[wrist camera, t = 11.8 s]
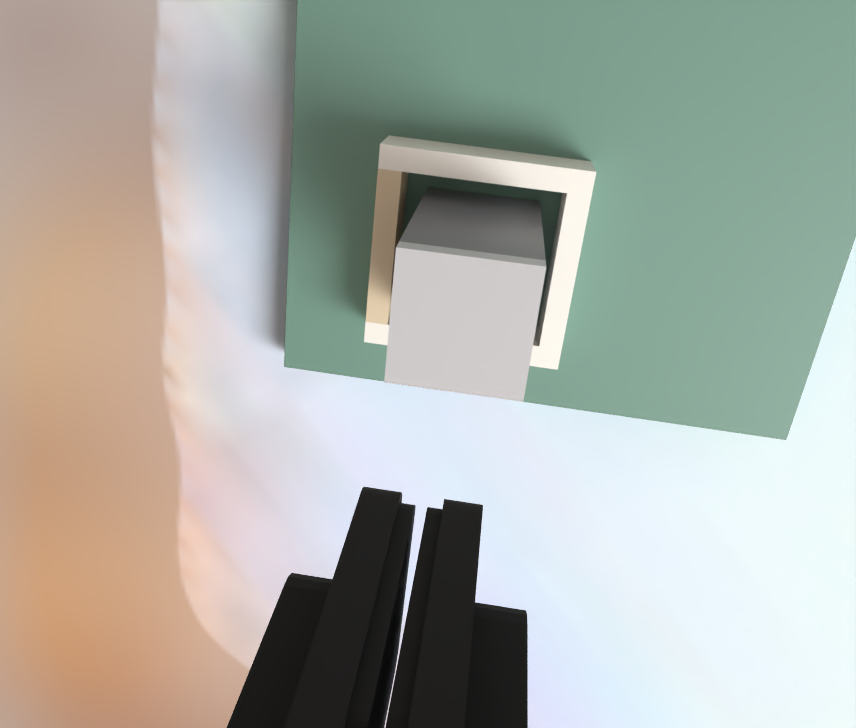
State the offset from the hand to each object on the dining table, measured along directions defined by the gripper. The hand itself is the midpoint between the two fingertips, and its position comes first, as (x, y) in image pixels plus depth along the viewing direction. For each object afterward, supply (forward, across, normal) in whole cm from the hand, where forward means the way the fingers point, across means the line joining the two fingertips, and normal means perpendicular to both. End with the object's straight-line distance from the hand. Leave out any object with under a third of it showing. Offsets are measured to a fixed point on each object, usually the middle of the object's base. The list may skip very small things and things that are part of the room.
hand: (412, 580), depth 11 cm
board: (+21, -3, -1) cm, 21 cm away
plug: (+19, 0, +1) cm, 19 cm away
